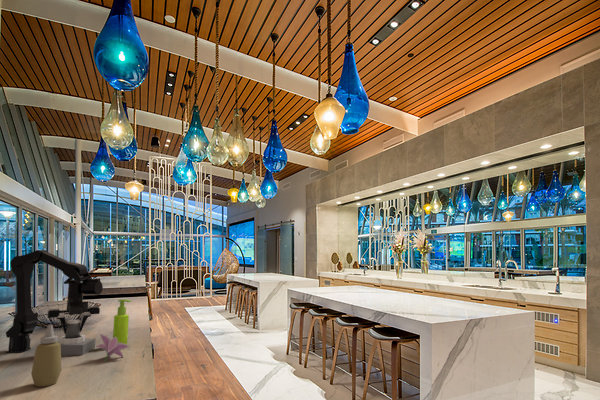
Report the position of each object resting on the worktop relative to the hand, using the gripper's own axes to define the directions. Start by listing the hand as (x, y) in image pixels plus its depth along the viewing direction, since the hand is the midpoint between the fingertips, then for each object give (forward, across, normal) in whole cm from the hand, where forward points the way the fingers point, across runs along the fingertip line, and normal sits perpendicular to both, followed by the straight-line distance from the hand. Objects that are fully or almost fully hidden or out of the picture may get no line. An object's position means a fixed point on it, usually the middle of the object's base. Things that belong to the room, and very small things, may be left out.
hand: (72, 332), depth 164 cm
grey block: (+2, 0, 0) cm, 2 cm away
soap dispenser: (+8, +19, -1) cm, 20 cm away
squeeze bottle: (+8, -10, -41) cm, 43 cm away
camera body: (+8, 0, 0) cm, 8 cm away
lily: (+8, +12, -22) cm, 26 cm away
